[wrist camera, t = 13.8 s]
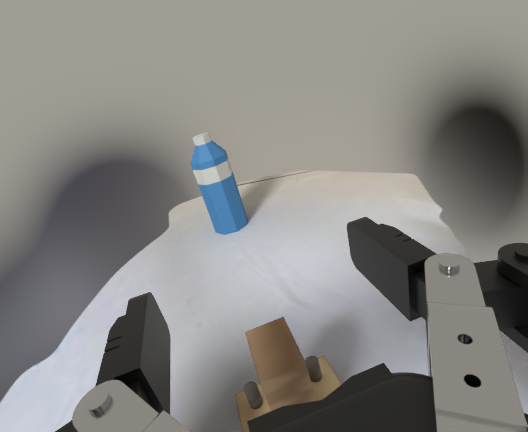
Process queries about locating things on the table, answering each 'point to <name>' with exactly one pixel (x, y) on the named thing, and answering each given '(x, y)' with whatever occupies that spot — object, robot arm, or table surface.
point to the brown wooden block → (280, 365)
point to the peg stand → (255, 401)
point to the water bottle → (217, 185)
